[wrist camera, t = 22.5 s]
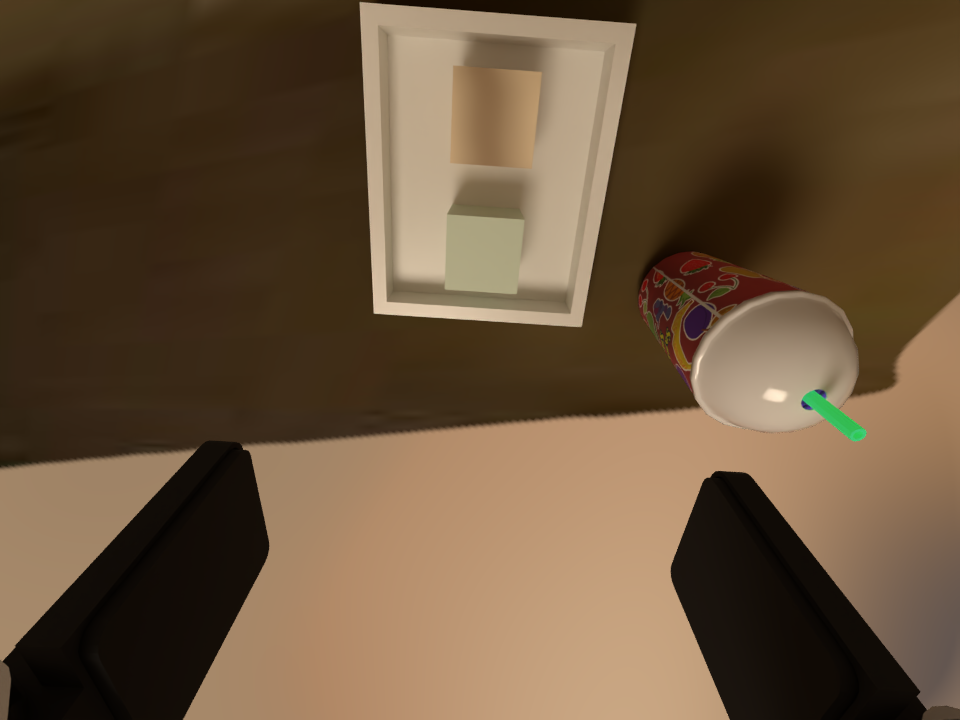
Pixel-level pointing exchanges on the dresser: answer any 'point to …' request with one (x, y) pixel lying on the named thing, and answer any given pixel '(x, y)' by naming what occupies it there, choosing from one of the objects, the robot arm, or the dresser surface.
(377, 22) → the tray
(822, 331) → the smoothie
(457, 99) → the maple block
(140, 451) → the dresser surface
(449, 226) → the sage block
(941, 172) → the dresser surface
